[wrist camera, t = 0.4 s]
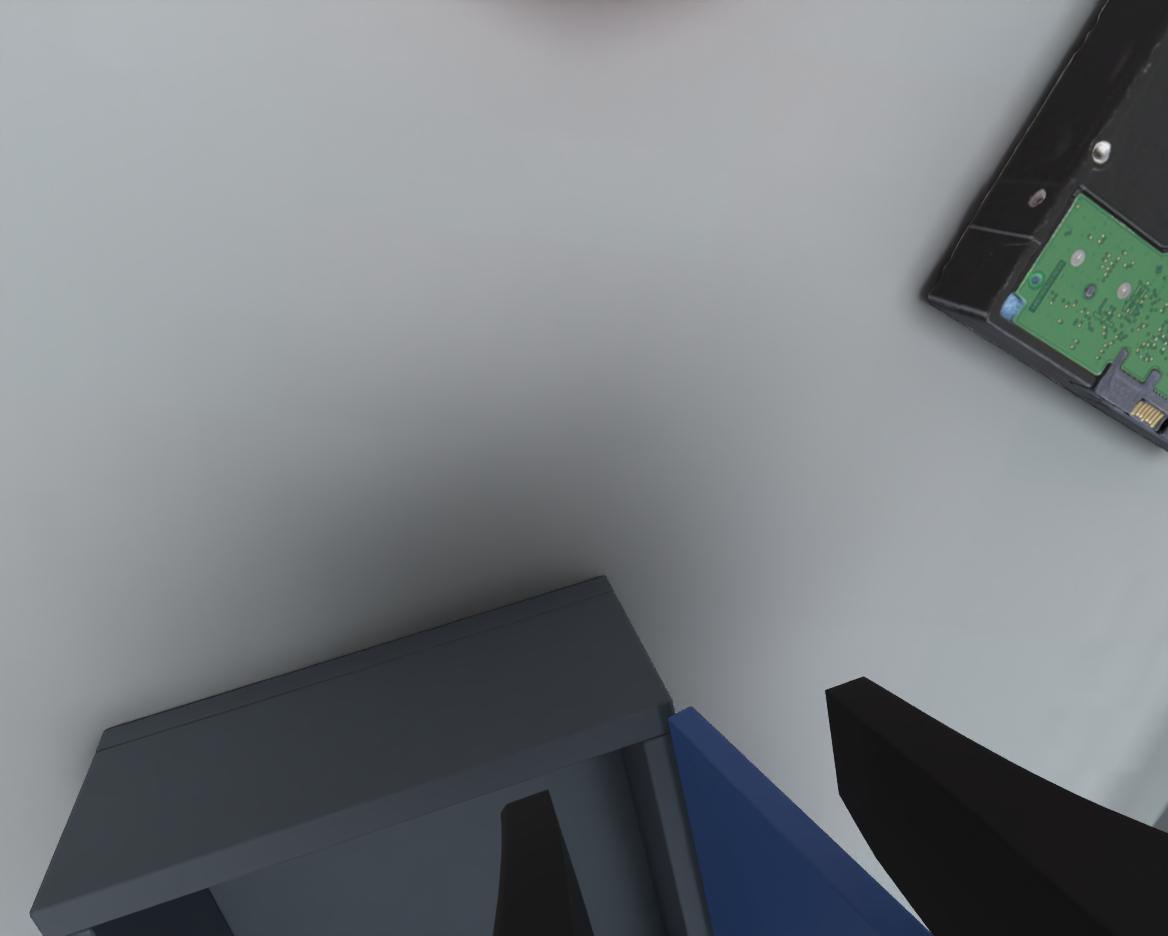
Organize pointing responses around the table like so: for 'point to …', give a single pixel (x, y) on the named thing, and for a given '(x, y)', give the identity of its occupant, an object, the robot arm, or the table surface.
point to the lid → (770, 851)
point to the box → (391, 790)
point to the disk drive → (1083, 229)
